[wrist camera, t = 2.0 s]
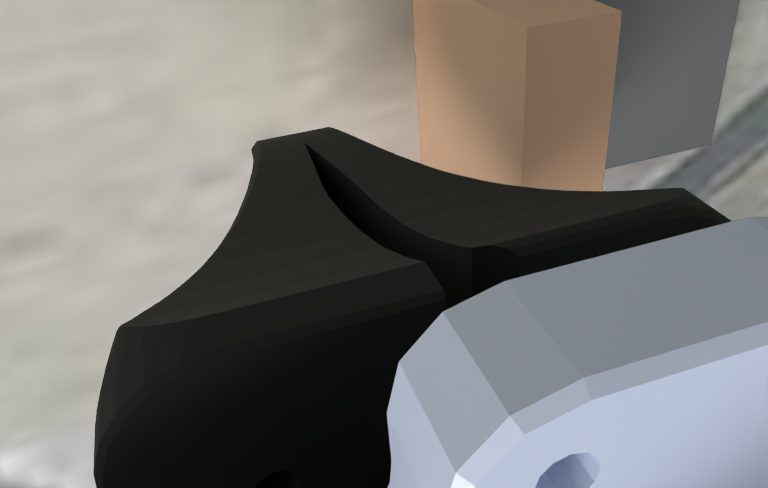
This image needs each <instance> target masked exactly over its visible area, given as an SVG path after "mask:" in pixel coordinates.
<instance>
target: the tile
mask: <svg viewBox="0 0 768 488" xmlns="http://www.w3.org/2000/svg"><path fill="white" fill-rule="evenodd" d="M621 13H622V11H620V10H618V9H615V8H613V7H610V6H607V5H605V4H602V3H600V2H597V1H594V0H413V17H414V38H415V58H416V78H417V98H418V118H419V138H420V158H421V164H423V165H426V166H429V167H432V168H435V169H438V170H442V171H445V172H449V173H453V174H457V175H461V176H465V177H470V178H474V179H479V180H483V181H488V182H494V183H500V184H506V185H514V186H522V187H530V188H538V189H551V190H566V191H603V182H604V173H605V164H606V155H607V145H608V136H609V127H610V118H611V108H612V99H613V90H614V81H615V72H616V62H617V53H618V44H619V35H620V25H621Z"/></svg>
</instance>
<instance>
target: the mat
mask: <svg viewBox="0 0 768 488" xmlns="http://www.w3.org/2000/svg"><path fill="white" fill-rule="evenodd" d="M594 1H597V2H600V3H602V4H605V5H607V6H610V7H613V8H615V9H618V10H620V11H622V13H621V25H620V35H619V44H618V53H617V62H616V72H615V81H614V90H613V99H612V108H611V118H610V127H609V136H608V145H607V155H606V164H605V169H608V168H612V167H616V166H621V165H625V164H629V163H633V162H638V161H642V160H646V159H651V158H655V157H659V156H664V155H668V154H672V153H676V152H681V151H685V150H689V149H694V148H698V147H702V146H707V145H711V141H712V136H713V131H714V126H715V121H716V116H717V111H718V106H719V101H720V96H721V91H722V86H723V81H724V75H725V70H726V65H727V60H728V55H729V50H730V45H731V40H732V35H733V30H734V25H735V20H736V15H737V10H738V4H739V0H594Z"/></svg>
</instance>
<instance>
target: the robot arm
mask: <svg viewBox="0 0 768 488" xmlns="http://www.w3.org/2000/svg"><path fill="white" fill-rule="evenodd" d="M252 154H253V160H254V163H253V170H252V174H251V178H250V182H249V186H248V189H247V192H246V195H245V198H244V200H243V203H242V205H241V207H240V210H239V212H238V215H237V217H236V219H235V221H234V223H233V225H232V226H231V228H230V230H229V232H228V233H227V235H226V236H225V238H224V240H223V241H222V243H221V244H220V246H219V247H218V248H217V250H216V251H215V252H214V253H213V255H212V256H211V257H210V258H209V259H208V260H207V262H206V263H205V264H204V265H203V266H202V267H201V268H200V269H199V270H198V271H197V272H196V273H195V274H194V275H193V276H192V277H190V278H189V279H188V280H187V281H186V282H185V283H183V284H182V285H181V286H180V287H179V288H177V289H176V290H175V291H174V292H172V293H171V294H170V295H168V296H167V297H166V298H164V299H163V300H161V301H160V302H158V303H157V304H155V305H154V306H152V307H150V308H149V309H147V310H146V311H144V312H142V313H141V314H139V315H138V316H136V317H135V318H133V319H131V320H130V321H128V322H126V323H124V324H123V325H121V326H120V327H119V328H118V330H117V332H116V335H115V338H114V341H113V344H112V348H111V351H110V355H109V358H108V362H107V365H106V369H105V374H104V378H103V382H102V387H101V391H100V396H99V401H98V407H97V414H96V424H95V448H94V478H95V482H96V486H97V488H768V217H747V218H743V219H739V220H735V221H731V220H729V219H728V218H726V217H725V216H723V215H722V214H720V213H719V212H717V211H716V210H715V209H713V208H712V207H710V206H709V205H707V204H706V203H704V202H703V201H701V200H700V199H699V198H697V197H696V196H694V195H693V194H691V193H690V192H688V191H687V190H685V189H684V188H671V189H651V190H631V191H566V190H551V189H538V188H530V187H522V186H514V185H506V184H500V183H494V182H488V181H483V180H479V179H474V178H470V177H465V176H461V175H457V174H453V173H449V172H445V171H442V170H438V169H435V168H432V167H429V166H426V165H423V164H420V163H417V162H414V161H411V160H409V159H406V158H404V157H401V156H398V155H396V154H393V153H391V152H388V151H386V150H384V149H381V148H379V147H377V146H374V145H372V144H370V143H367V142H365V141H363V140H361V139H358V138H356V137H354V136H351V135H349V134H347V133H344V132H342V131H340V130H337V129H334V128H330V127H327V128H322V129H317V130H312V131H307V132H301V133H296V134H291V135H286V136H281V137H276V138H271V139H266V140H261V141H257V142H256V143H255V145H254V146H253V148H252Z"/></svg>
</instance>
